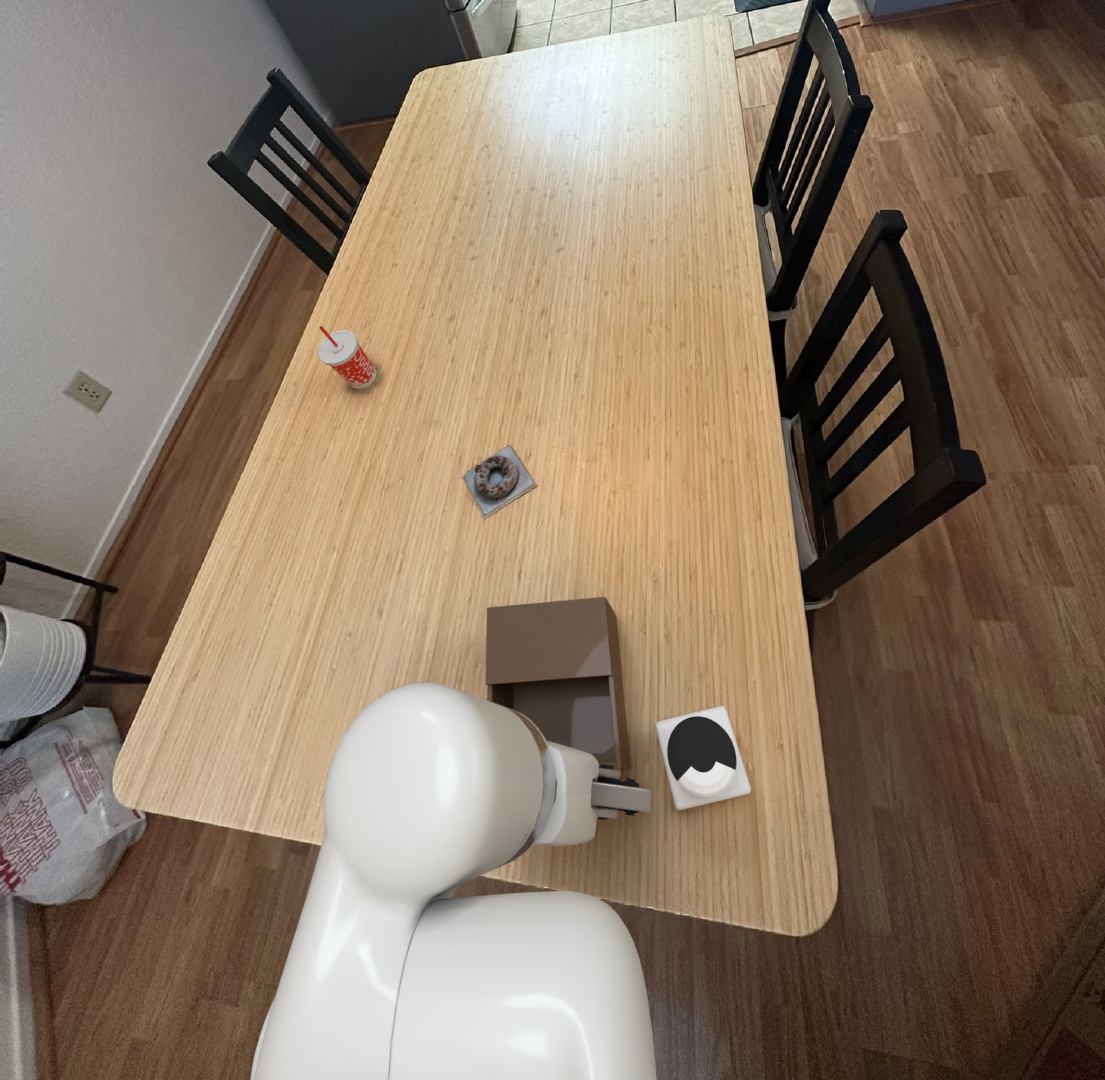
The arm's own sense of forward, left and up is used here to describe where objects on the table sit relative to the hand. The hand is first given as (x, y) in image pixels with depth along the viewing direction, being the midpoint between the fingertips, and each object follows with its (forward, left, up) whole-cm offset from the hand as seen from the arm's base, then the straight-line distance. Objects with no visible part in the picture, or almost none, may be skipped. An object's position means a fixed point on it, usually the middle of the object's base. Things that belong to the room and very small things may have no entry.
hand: (546, 780), depth 48 cm
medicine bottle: (+1, -12, -21) cm, 25 cm away
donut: (+34, +10, -21) cm, 42 cm away
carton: (+8, +2, -21) cm, 23 cm away
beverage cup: (+55, +33, -21) cm, 68 cm away
